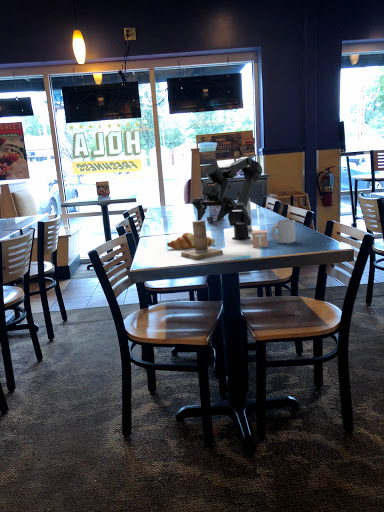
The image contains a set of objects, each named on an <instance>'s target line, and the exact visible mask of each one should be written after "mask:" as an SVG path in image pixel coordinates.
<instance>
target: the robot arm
mask: <svg viewBox="0 0 384 512" xmlns="http://www.w3.org/2000/svg"><path fill="white" fill-rule="evenodd" d="M240 171H241V172H242V174H243V177H244V178H243V179H244V180H243V182H242V186H241V189H240V191H239V192H240V194H239V197H237V201H236V200H235V199H234V197H233V196H227V195H226V193H227V190H228V189H231V188H232V185H231V183H230V181H229V180H231V179H235V177H236V176H237V175H238V174H237V173H238V172H240ZM262 173H263V167H262V165H261V164H260V163H259V162H258V161H256V160H255V159H253V158H252V157H251V156H242V157H240V158H239V159H237V160H236V161H233V162H232V163H230V164H226V165H225V164H224V165H220V166H219V165H218V162H217V161H214V162H213V161H212V162H211V163H210V164H209V165H207V167H206V168H204V174H205V175H206V176H207V178H208V179H209V181H210V182H211V183H212V184H213V185H212V184H211V185H203V186H202V192H201V194H202V195H204V196H205V199H206V200H204V199H203V198H202V197H198V198H197V197H195V198H193V200H192V203H191V204H192V205H193V206H194V207H195V209H196V210H197V221H201V220H202V218H203V217H204V215H205V214H206V210H207V208H208V207H220V209H219V211H218V214H217V216H216V217H217V218H216V221H217V222H220V221H221V220H222V219H223V218H224V217H226V216H227V219H228V222H229V227H233V233H234V236H233V237H231V239H232V240H238V241H243V240H247V239H251V238H252V236H250V235H249V231H248V226H249V225H251V222H252V218H251V219H250V217H249V216H248V211H247V204H248V201H249V198H250V199H251V194H252V192H253V189H254V185H255V183H256V182H257V181H258V180H259V179H260V177H261V176H262Z"/></svg>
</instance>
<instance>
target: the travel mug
mask: <svg viewBox="0 0 384 512" xmlns="http://www.w3.org/2000/svg"><path fill="white" fill-rule="evenodd" d="M236 194H237V198H238V197H239V194H240V191H236ZM247 211H248V216H249V217H250V219H251V220H252V209H251V197H250V198H249V201H248V204H247ZM252 224H253V223H252V221H251V225H249V226H248V232H252V231H253V227H252V226H253V225H252Z"/></svg>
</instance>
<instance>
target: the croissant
mask: <svg viewBox="0 0 384 512" xmlns="http://www.w3.org/2000/svg"><path fill="white" fill-rule="evenodd" d="M215 242H216V240H215V239H213V238H211V237H209V236H207V246H211V245H214V244H215ZM166 245H167V247H168V248H171V249H176V250H194V249H195V243H194V233H191V232H186V233H183V234H182V235H181V236H179V237H177V238H176V239H174V240H171V241H170V242H167V243H166ZM193 248H194V249H193Z"/></svg>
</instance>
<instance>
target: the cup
mask: <svg viewBox="0 0 384 512" xmlns="http://www.w3.org/2000/svg"><path fill="white" fill-rule="evenodd" d="M276 229H277V235H276ZM270 233H271V237H272V239H273V240H275V241H277V242H278V244H283V243H287V244H293V242H294V243H295V242H296V236H297V235H296V220H295V219H281V220H277V221H276V224H274V225H273V226H272V227H271V230H270Z"/></svg>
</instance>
